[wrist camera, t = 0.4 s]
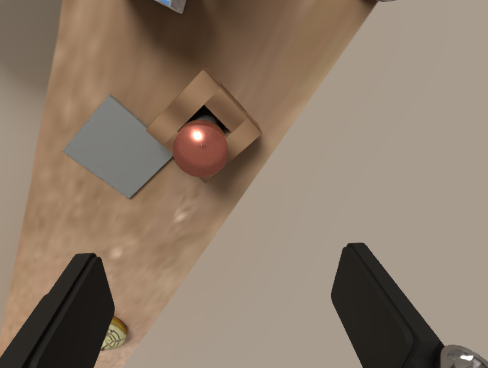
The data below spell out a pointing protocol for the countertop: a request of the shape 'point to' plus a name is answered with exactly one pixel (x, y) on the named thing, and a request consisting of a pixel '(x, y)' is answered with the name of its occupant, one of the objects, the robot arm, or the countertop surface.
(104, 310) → the robot arm
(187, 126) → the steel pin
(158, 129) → the eye block
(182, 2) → the medicine box
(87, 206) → the countertop surface
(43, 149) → the countertop surface
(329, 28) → the countertop surface
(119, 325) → the decorated donut
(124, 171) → the rubber mat
